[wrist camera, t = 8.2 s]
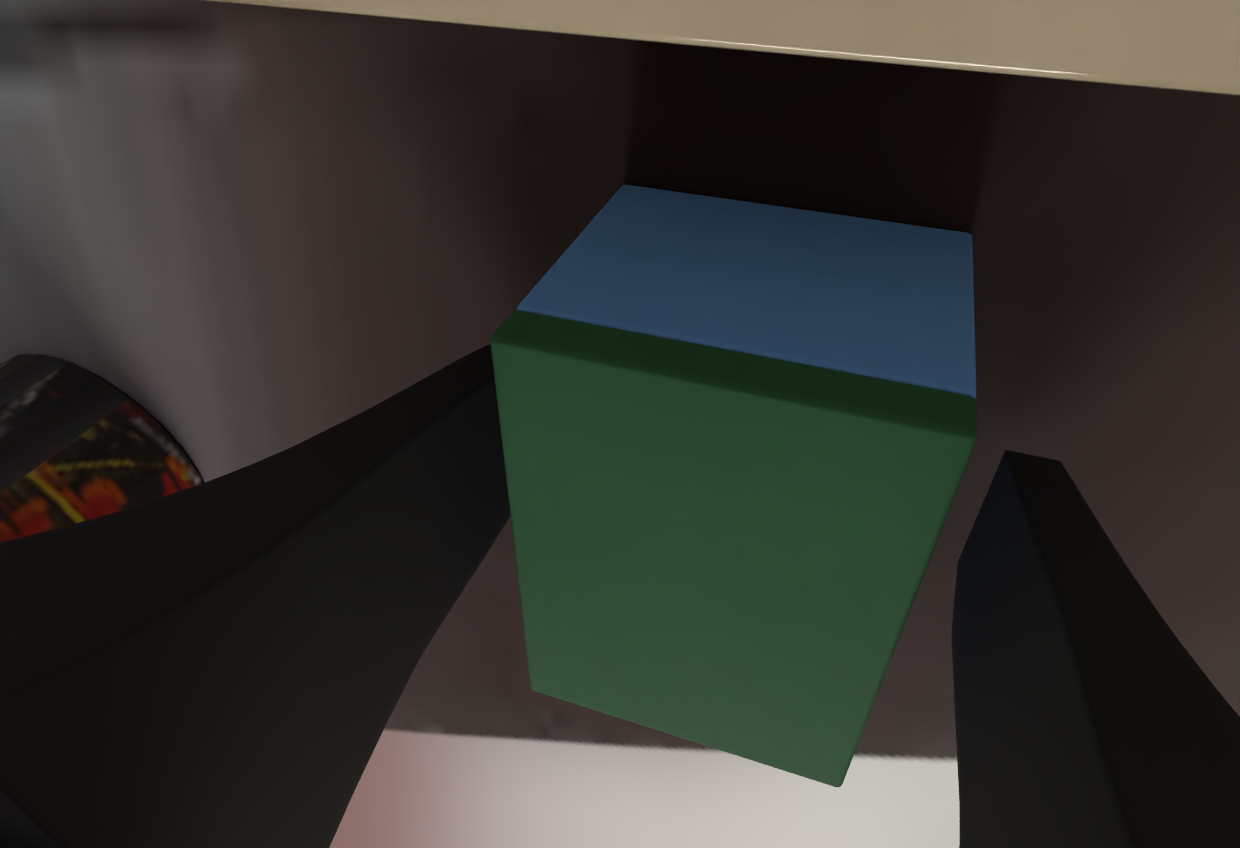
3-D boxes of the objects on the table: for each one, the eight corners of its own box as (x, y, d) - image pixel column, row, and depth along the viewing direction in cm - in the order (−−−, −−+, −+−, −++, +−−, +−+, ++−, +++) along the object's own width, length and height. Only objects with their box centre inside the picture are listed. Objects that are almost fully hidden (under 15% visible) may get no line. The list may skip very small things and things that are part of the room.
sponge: (868, 565, 13) (841, 791, 10) (619, 503, 14) (529, 691, 11) (973, 231, 9) (979, 435, 6) (622, 181, 10) (486, 336, 7)
